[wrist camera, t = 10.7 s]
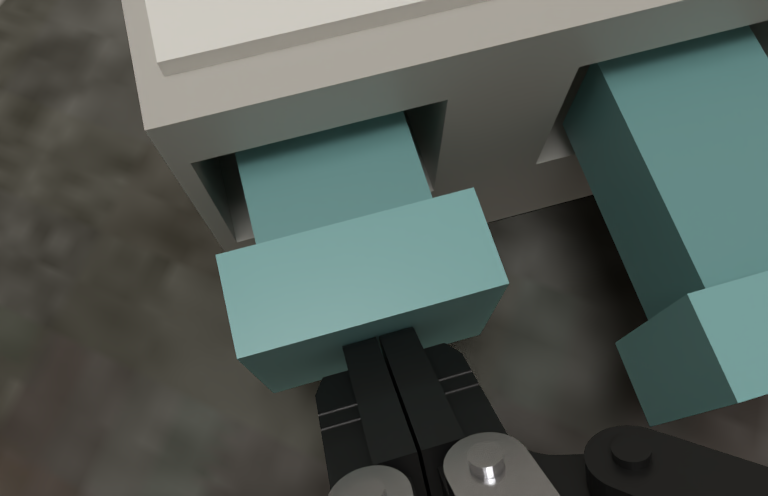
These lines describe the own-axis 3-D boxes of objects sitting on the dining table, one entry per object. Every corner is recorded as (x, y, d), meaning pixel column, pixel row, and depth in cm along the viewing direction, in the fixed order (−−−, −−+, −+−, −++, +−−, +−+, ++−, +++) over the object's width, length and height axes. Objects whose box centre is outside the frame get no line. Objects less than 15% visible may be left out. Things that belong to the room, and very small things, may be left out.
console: (247, 287, 20) (144, 131, 11) (205, 95, 22) (94, -152, 14) (900, 112, 22) (1223, -131, 13) (797, -47, 24) (1016, -336, 16)
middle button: (650, 427, 15) (737, 403, 11) (531, 142, 18) (571, 45, 14) (848, 366, 15) (996, 324, 12) (704, 98, 18) (789, -8, 14)
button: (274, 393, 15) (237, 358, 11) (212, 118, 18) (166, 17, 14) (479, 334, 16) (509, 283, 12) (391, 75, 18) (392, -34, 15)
